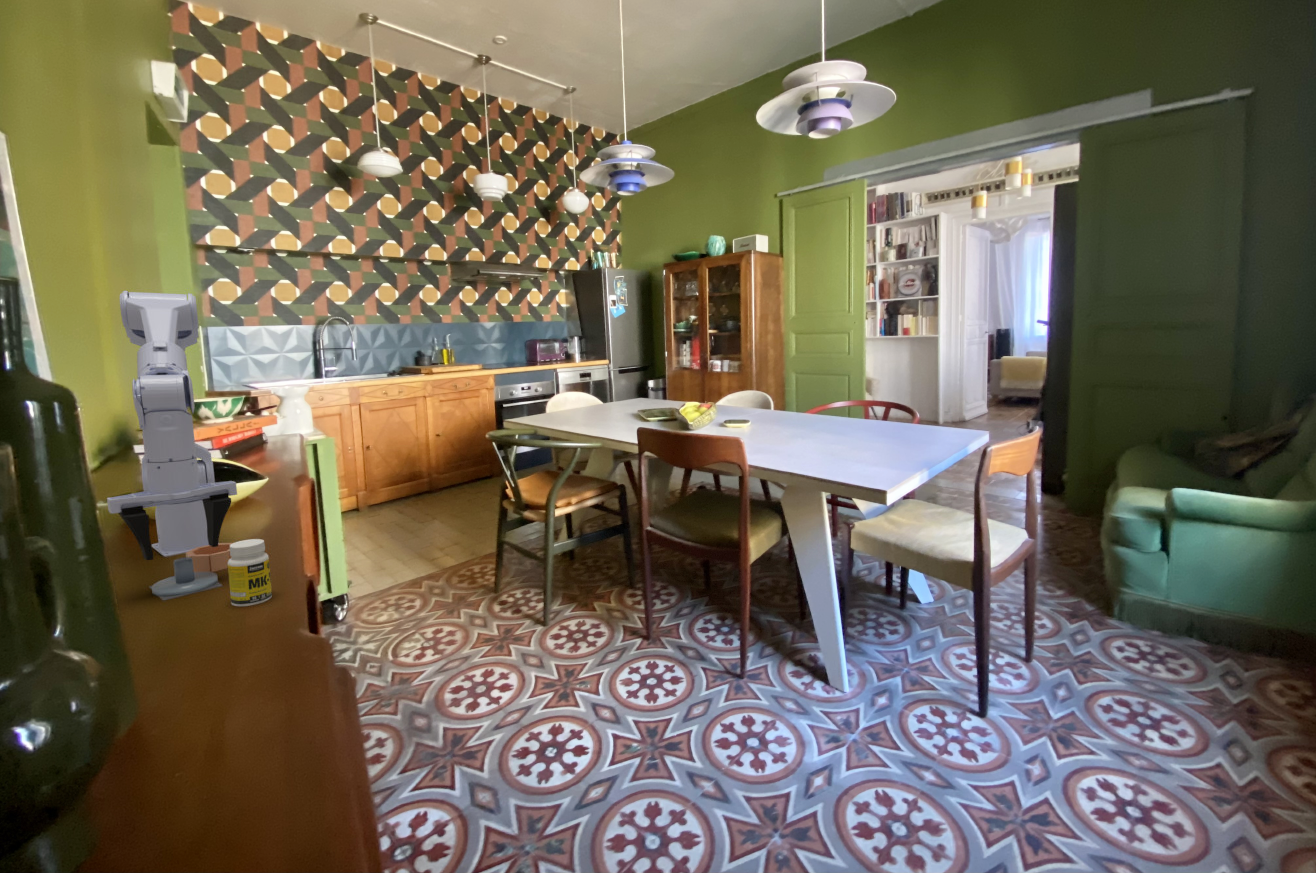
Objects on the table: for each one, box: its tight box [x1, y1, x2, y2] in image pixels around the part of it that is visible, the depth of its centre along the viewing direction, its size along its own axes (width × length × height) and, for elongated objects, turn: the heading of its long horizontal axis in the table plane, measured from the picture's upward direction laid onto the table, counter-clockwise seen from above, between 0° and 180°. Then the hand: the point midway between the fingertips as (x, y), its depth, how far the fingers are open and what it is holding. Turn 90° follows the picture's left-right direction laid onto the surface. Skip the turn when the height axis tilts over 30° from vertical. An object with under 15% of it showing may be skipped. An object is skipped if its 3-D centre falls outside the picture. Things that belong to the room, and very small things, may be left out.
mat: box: [148, 581, 224, 602], centre depth 90 cm, size 8×7×1 cm
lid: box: [151, 556, 219, 597], centre depth 90 cm, size 8×8×4 cm
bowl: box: [185, 542, 234, 573], centre depth 99 cm, size 7×7×3 cm
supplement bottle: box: [227, 538, 273, 607], centre depth 85 cm, size 5×5×8 cm
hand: (182, 551), depth 90 cm, fingers open, 7 cm apart
